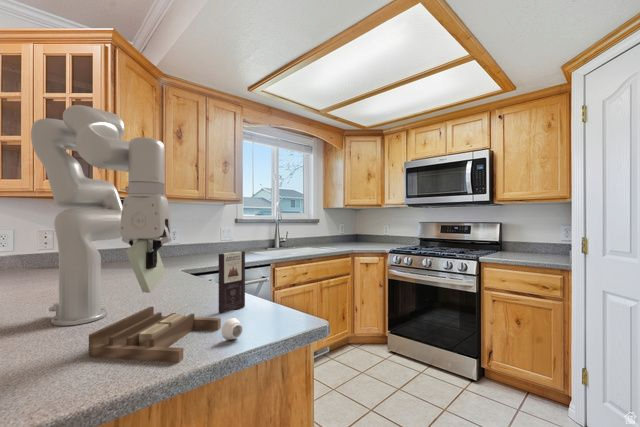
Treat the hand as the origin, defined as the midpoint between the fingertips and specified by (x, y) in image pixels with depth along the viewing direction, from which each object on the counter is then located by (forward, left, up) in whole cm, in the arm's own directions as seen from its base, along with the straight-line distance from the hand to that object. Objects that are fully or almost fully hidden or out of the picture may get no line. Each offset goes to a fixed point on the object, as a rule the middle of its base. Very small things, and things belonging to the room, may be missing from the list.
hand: (146, 267), depth 73 cm
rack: (+4, 0, -17) cm, 18 cm away
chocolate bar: (+11, +25, -18) cm, 32 cm away
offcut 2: (+5, +3, -18) cm, 18 cm away
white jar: (+21, +2, -18) cm, 27 cm away
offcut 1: (+5, -4, -18) cm, 18 cm away
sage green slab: (0, +3, -4) cm, 5 cm away
